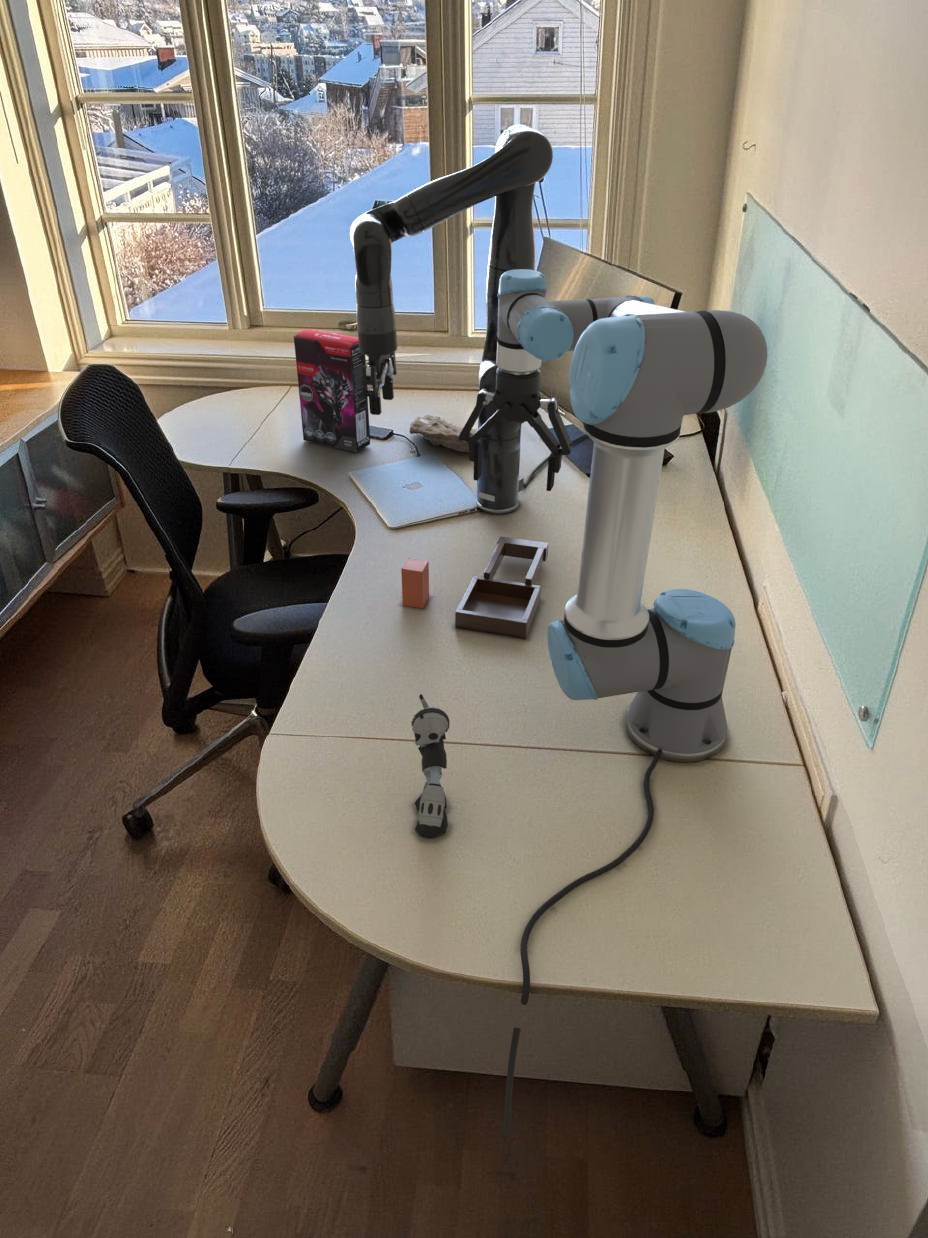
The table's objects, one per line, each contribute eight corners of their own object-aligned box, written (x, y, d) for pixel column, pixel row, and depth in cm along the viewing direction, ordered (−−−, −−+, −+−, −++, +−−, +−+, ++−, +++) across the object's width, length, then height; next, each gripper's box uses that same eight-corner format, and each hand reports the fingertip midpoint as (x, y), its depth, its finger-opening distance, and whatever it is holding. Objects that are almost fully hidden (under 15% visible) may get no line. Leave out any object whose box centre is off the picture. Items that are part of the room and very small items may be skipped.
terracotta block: (422, 608, 171) (422, 571, 167) (402, 605, 172) (401, 568, 168) (429, 597, 174) (428, 561, 170) (409, 594, 175) (408, 558, 171)
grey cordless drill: (452, 871, 119) (452, 756, 108) (414, 872, 119) (410, 757, 108) (447, 767, 136) (446, 657, 124) (413, 768, 135) (410, 658, 124)
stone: (393, 439, 229) (398, 415, 226) (412, 430, 242) (417, 408, 240) (473, 463, 225) (479, 439, 223) (488, 453, 238) (493, 431, 236)
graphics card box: (301, 441, 235) (290, 334, 220) (317, 432, 240) (307, 326, 225) (357, 454, 229) (350, 345, 213) (372, 444, 234) (367, 337, 218)
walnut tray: (525, 639, 163) (526, 618, 161) (455, 628, 166) (455, 607, 164) (554, 563, 185) (556, 543, 183) (491, 554, 188) (492, 535, 186)
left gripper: (384, 338, 173) (389, 420, 182) (405, 317, 184) (409, 395, 193) (346, 336, 174) (353, 418, 183) (369, 315, 186) (375, 393, 195)
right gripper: (596, 368, 155) (585, 483, 167) (454, 352, 161) (454, 464, 173) (587, 383, 149) (577, 501, 161) (441, 366, 155) (441, 481, 167)
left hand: (382, 406), depth 188 cm, fingers open, 8 cm apart
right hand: (513, 482), depth 167 cm, fingers open, 13 cm apart
